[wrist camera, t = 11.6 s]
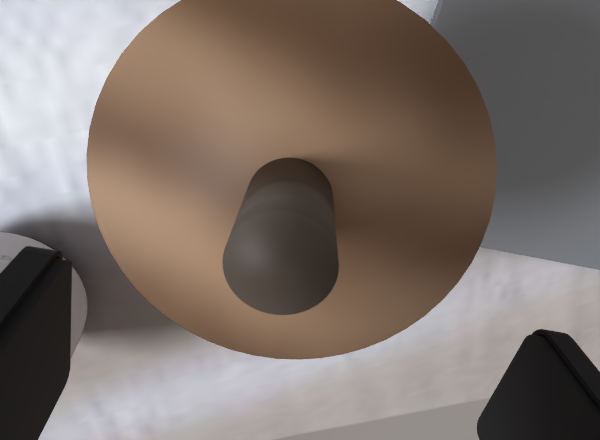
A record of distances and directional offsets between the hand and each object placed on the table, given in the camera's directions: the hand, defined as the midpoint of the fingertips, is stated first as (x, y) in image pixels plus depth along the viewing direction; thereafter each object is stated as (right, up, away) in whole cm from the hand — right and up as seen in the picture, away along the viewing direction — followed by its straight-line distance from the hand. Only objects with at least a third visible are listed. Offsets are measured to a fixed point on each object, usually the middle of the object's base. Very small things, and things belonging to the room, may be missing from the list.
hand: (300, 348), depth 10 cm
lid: (0, +4, +9) cm, 10 cm away
